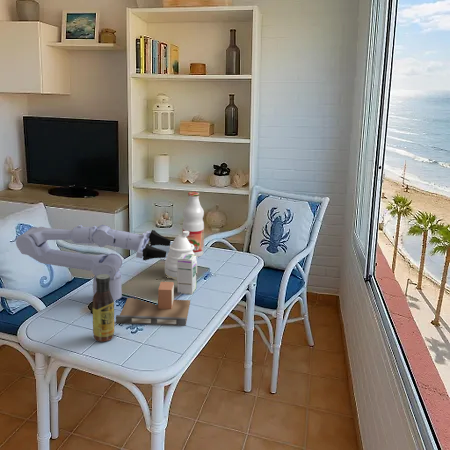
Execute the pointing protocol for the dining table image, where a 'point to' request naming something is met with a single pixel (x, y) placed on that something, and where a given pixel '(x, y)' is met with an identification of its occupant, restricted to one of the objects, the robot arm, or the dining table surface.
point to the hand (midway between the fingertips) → (168, 248)
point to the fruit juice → (194, 223)
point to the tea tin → (166, 295)
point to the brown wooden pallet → (153, 313)
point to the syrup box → (186, 273)
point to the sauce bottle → (103, 310)
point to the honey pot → (178, 253)
